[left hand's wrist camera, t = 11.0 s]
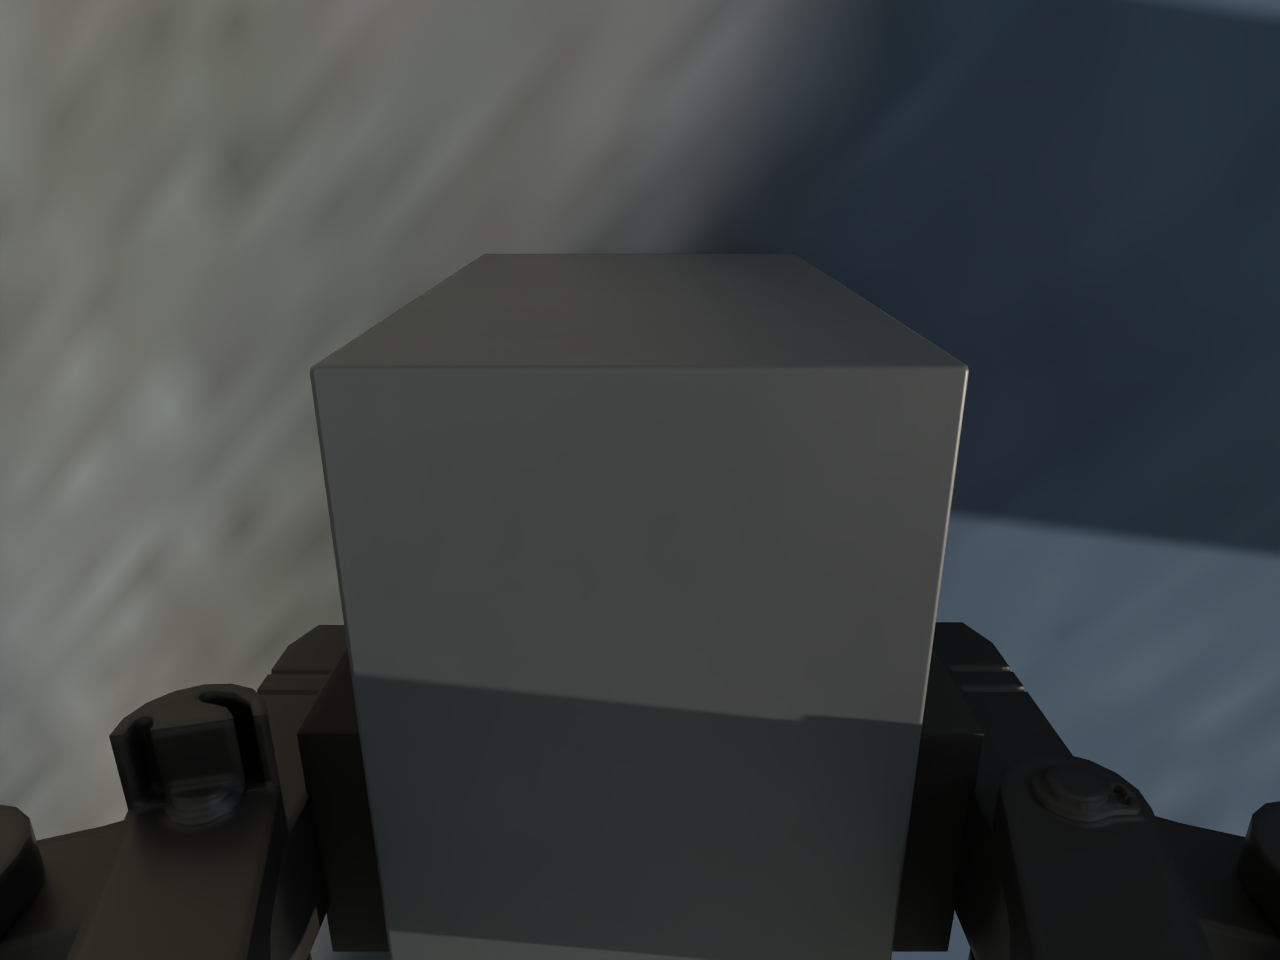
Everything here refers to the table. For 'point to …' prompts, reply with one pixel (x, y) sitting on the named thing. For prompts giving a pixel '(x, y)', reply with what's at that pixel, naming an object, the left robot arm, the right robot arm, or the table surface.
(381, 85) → the table surface
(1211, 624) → the table surface
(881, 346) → the post
